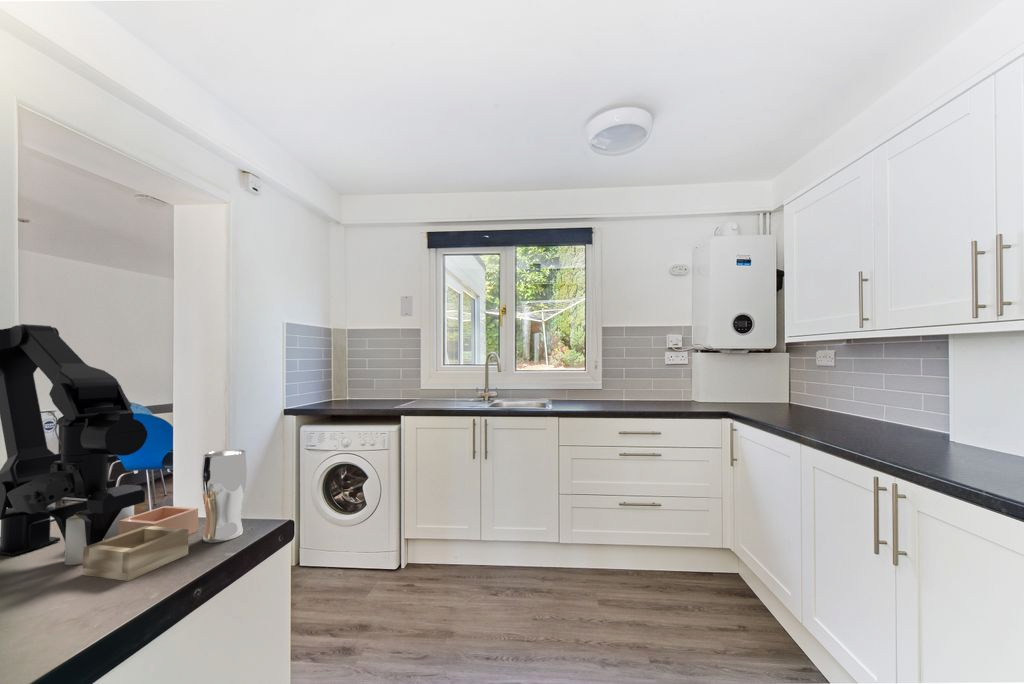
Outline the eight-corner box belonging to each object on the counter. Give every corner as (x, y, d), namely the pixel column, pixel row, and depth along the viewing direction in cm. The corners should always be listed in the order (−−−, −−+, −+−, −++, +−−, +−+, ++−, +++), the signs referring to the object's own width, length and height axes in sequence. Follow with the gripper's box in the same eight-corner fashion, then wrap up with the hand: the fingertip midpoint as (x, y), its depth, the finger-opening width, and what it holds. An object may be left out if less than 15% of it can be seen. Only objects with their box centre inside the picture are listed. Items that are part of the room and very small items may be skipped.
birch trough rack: (82, 574, 65) (83, 547, 65) (145, 549, 74) (146, 525, 74) (128, 580, 63) (129, 552, 63) (188, 554, 71) (188, 529, 72)
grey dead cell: (97, 541, 77) (99, 498, 78) (122, 533, 81) (123, 492, 82) (114, 543, 76) (116, 500, 77) (139, 534, 80) (140, 493, 81)
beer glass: (223, 545, 75) (224, 457, 76) (189, 542, 76) (191, 456, 77) (254, 530, 82) (255, 449, 82) (223, 527, 83) (224, 448, 84)
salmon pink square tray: (118, 545, 76) (118, 520, 76) (164, 528, 83) (165, 505, 84) (153, 548, 74) (154, 523, 74) (197, 531, 82) (198, 508, 82)
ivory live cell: (57, 563, 69) (59, 515, 69) (87, 553, 73) (89, 507, 73) (76, 566, 68) (78, 517, 68) (105, 555, 72) (107, 509, 72)
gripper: (-24, 461, 65) (-29, 567, 65) (66, 465, 61) (62, 579, 60) (67, 447, 76) (64, 537, 75) (149, 450, 72) (147, 546, 71)
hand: (82, 549), depth 70 cm, fingers closed on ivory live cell, 4 cm apart
